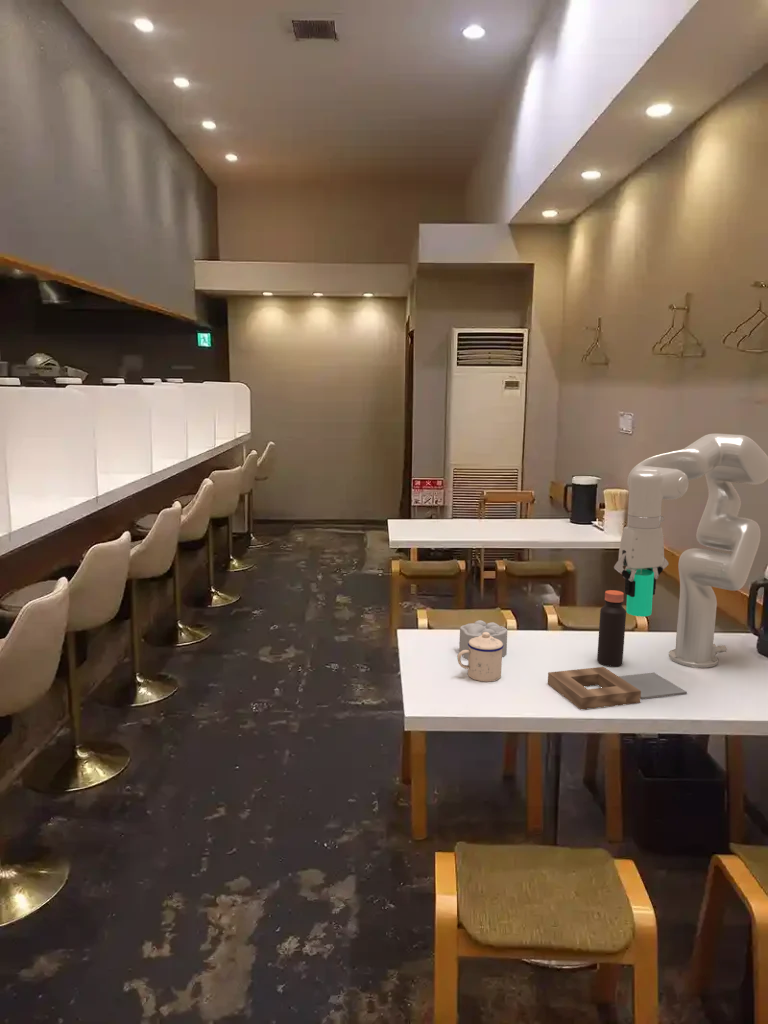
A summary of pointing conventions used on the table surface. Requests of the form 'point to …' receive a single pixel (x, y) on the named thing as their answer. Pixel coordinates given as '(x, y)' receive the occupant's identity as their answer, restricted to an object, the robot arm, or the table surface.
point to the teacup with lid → (483, 658)
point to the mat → (653, 685)
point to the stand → (583, 698)
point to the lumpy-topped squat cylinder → (477, 630)
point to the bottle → (612, 630)
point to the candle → (641, 594)
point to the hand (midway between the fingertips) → (639, 593)
